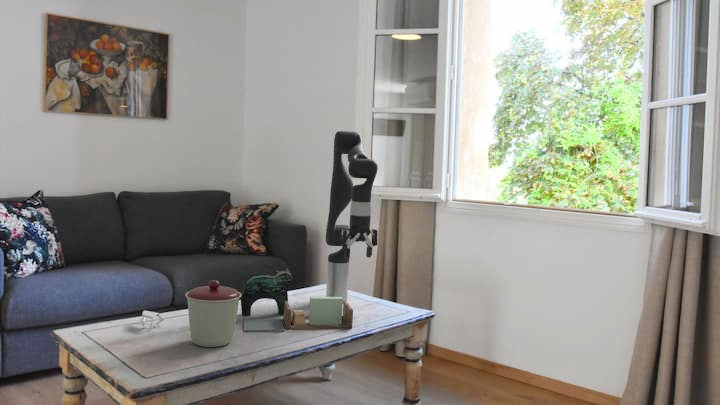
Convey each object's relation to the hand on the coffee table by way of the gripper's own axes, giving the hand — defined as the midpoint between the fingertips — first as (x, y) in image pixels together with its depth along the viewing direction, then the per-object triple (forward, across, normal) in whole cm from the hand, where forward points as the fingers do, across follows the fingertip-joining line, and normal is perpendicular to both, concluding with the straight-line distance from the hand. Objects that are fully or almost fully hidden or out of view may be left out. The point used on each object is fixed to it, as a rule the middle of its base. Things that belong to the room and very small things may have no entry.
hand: (358, 257), depth 235 cm
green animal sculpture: (+27, +25, -28) cm, 46 cm away
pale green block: (+27, +7, -10) cm, 30 cm away
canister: (+27, +53, +1) cm, 59 cm away
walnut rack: (+27, +10, -11) cm, 31 cm away
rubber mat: (+27, +31, -13) cm, 43 cm away
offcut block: (+27, +17, -12) cm, 35 cm away
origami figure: (+27, +69, -24) cm, 78 cm away
